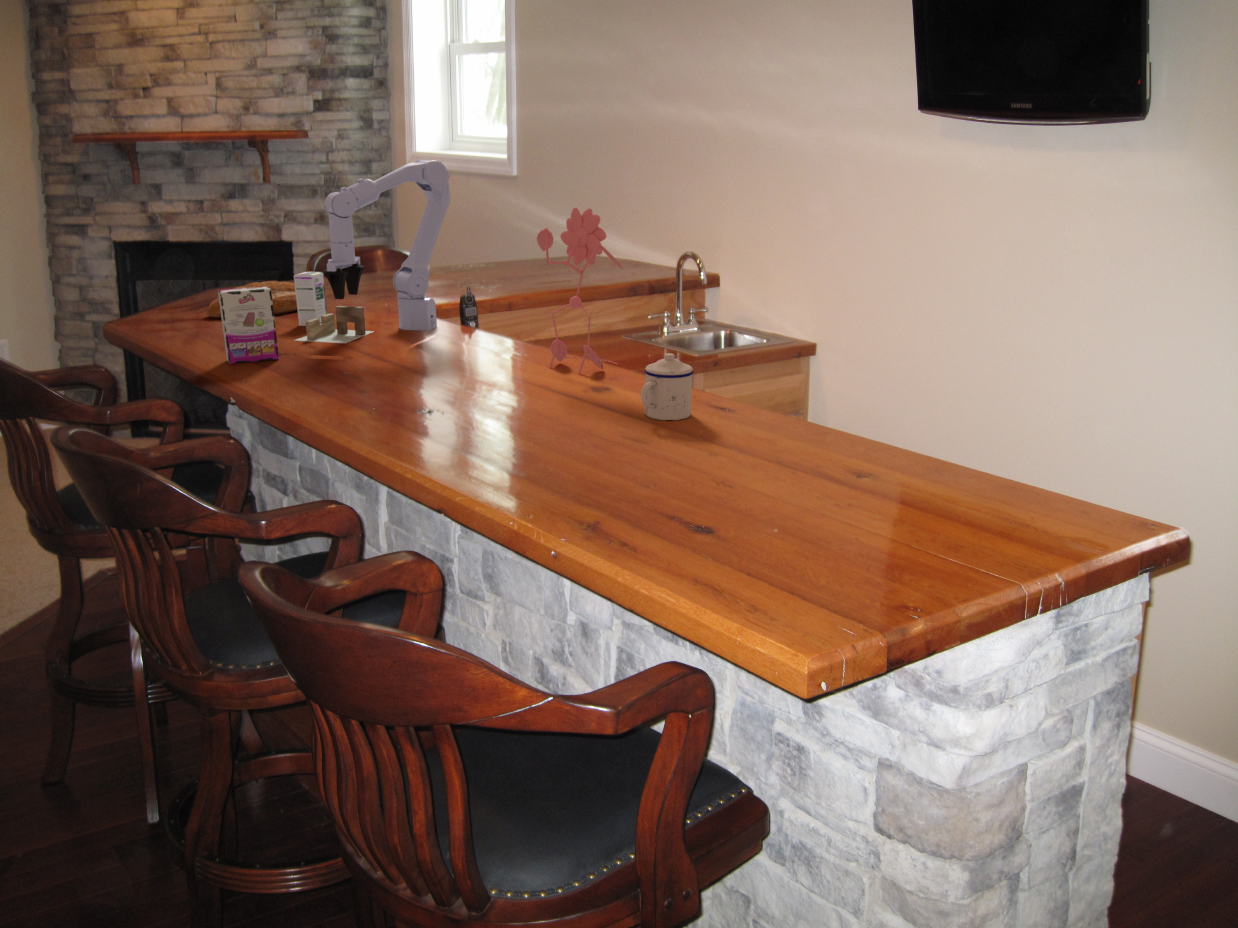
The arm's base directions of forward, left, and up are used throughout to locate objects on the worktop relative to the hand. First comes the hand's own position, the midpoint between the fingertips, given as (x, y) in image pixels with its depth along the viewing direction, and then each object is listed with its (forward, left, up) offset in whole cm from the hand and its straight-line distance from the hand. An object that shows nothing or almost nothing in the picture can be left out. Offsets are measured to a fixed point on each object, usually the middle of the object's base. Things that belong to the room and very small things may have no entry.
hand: (346, 296), depth 257 cm
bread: (+42, -30, -11) cm, 53 cm away
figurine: (-67, +17, -11) cm, 70 cm away
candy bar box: (+9, +30, -11) cm, 33 cm away
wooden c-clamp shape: (0, 0, -10) cm, 10 cm away
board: (+2, +3, -10) cm, 11 cm away
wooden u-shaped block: (+6, +3, -10) cm, 12 cm away
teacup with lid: (-92, +55, -11) cm, 108 cm away
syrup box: (+16, -11, -11) cm, 22 cm away
